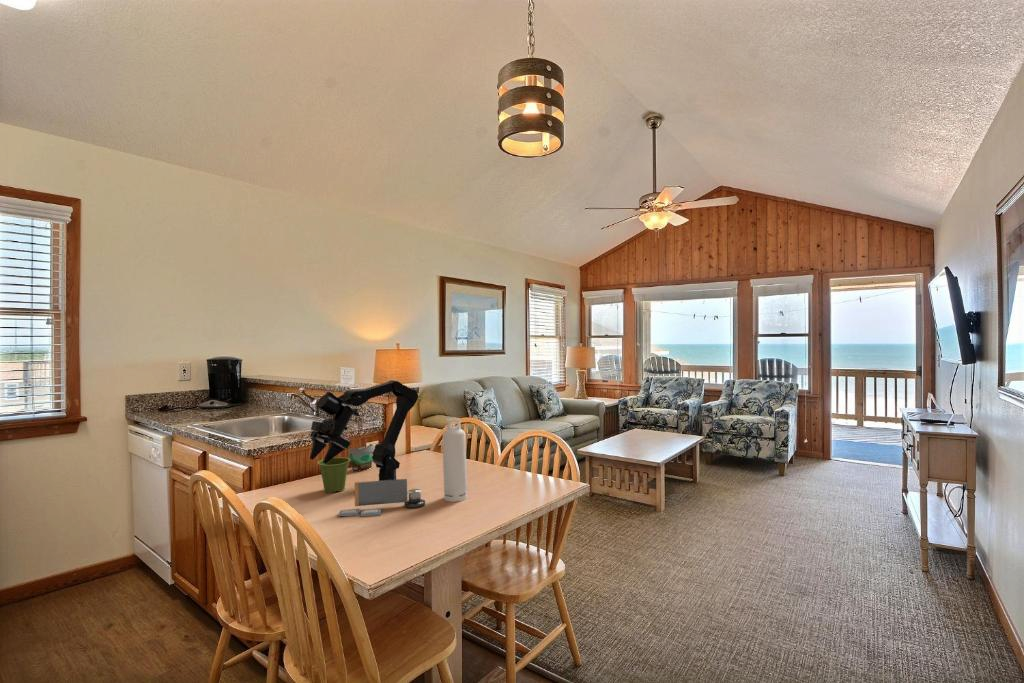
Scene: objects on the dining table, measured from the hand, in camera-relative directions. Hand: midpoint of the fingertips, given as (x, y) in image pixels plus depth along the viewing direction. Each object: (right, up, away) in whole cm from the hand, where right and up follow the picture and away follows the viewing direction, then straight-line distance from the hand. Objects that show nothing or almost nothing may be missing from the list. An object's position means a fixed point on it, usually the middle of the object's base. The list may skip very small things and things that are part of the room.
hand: (317, 461), depth 175 cm
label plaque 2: (+22, -14, -13) cm, 29 cm away
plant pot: (+1, -15, +15) cm, 21 cm away
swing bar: (+27, -13, -6) cm, 30 cm away
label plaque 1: (+15, -14, -12) cm, 24 cm away
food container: (+3, -15, +45) cm, 48 cm away
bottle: (+48, -14, +2) cm, 50 cm away
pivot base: (+35, -14, -5) cm, 38 cm away
